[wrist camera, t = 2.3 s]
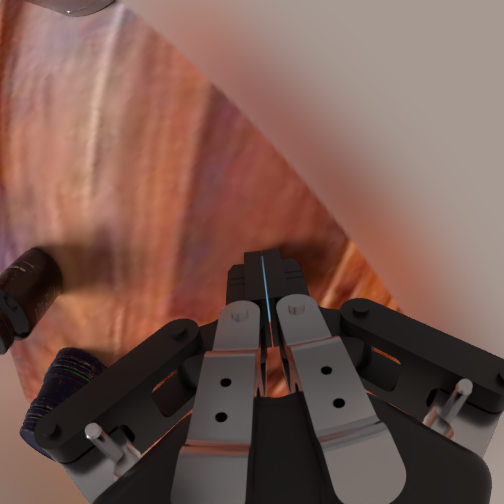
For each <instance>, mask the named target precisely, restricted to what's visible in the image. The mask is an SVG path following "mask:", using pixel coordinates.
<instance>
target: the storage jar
mask: <svg viewBox="0 0 504 504" xmlns="http://www.w3.org/2000/svg"><path fill="white" fill-rule="evenodd" d="M106 369H108V368H107V367H106V366H105V365H104V364H103V363H102V362H101V361H100V360H99V359H97V358H96V357H94V356H93V355H91V354H89V353H87V352H85V351H83V350H80V349H76V348H63V349H61V350H60V351H59V352H58V354H57V356H56V358H55V359H54V361H53V362H52V363H51V365H50V367H49V369H48V372H47V373H46V374H45V377H44V384H43V386H42V388H41V390H40V392H39V394H38V396H37V398H35V399H34V400H33V402H32V403H31V406H30V409H28V412H27V414H26V416H25V420H24V422H23V426H22V427H21V429H20V436H21V437H22V438H23V439H24V441H25V442H27V443H28V444H29V445H30V446H31V447H32V448H34V449H35V450H37V451H38V452H39V453H41V454H42V455H44V456H46V457H48V458H50V459H52V460H53V461H55V460H54V459H53V458H52V457H51V456H50V455H49V454H48V453H47V452H45V451H44V450H43V449H42V448H41V447H40V446H39V445H38V444H37V443H36V441H35V438H34V430H35V427H36V425H37V423H38V421H39V420H40V419H41V418H42V417H43V416H45V415H46V414H47V413H49V412H50V411H51V410H53V409H54V408H56V407H57V406H58V405H60V404H61V403H62V402H64V401H65V400H66V399H68V398H69V397H70V396H72V395H73V394H74V393H76V392H77V391H78V390H80V389H81V388H82V387H84V386H85V385H86V384H88V383H89V382H90V381H92V380H93V379H94V378H96V377H97V376H98V375H100V374H101V373H102V372H104V371H105V370H106ZM55 462H56V461H55Z"/></svg>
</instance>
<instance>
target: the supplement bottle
mask: <svg viewBox="0 0 504 504" xmlns="http://www.w3.org/2000/svg"><path fill="white" fill-rule="evenodd" d="M62 285H63V282H62V276H61V273H60V270H59V268H58V266H57V265H56V263H55V262H54V261H53V259H52V258H51V257H50V256H48V255H47V254H46V253H44V252H42V251H40V250H35V249H32V250H28V251H26V252H25V253H23V254H22V255H21V256H20V257H19V258H18V259H16V260H15V261H14V262H13V263H12V264H11V265H10V266H9V267H8V268H7V269H6V270H5V271H4V272H3V273H1V274H0V355H2V354H5V353H6V352H7V350H8V349H9V347H11V346H12V345H13V343H14V341H21V340H24V339H26V338H27V337H28V336H29V335H30V334H31V332H32V331H33V330H34V328H35V327H36V325H37V324H38V323H39V321H40V320H41V318H42V317H43V316H44V314H45V313H46V312H47V310H48V309H49V308H50V306H51V305H52V304H53V302H54V301H55V300H56V298H57V297H58V296H59V294H60V292H61V290H62Z"/></svg>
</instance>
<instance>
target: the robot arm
mask: <svg viewBox="0 0 504 504" xmlns="http://www.w3.org/2000/svg"><path fill="white" fill-rule="evenodd" d="M22 1H26V2H29V3H32V4H35V5H38V6H41V7H44V8H47V9H50V10H53V11H56V12H59V13H62V14H64V15H67V16H72V17H79V16H85V15H88V14H92V13H94V12H96V11H98V10H100V9H102V8H104V7H106V6H107V5H109V4H110V3H112V2H113V1H114V0H22ZM262 253H263V262H264V271H265V280H266V288H267V296H268V304H269V312H270V320H271V328H272V336H273V344H274V347H276V346H279V348H280V356H281V364H282V368H283V372H284V376H285V380H286V384H287V389H288V393H289V395H286V396H283V397H280V398H272V397H267V361H266V359H267V348H269V347H272V342H271V333H270V324H269V315H268V306H267V298H266V290H265V281H264V273H263V265H262V257H261V251H253V252H245V253H244V264H239V265H233V266H232V267H231V269H230V270H229V271H228V281H227V294H226V306H225V307H224V308H223V309H222V310H221V312H220V315H219V319H217V320H216V321H214V322H212V323H209V324H206V325H203V326H200V327H198V324H197V323H196V322H195V321H193V320H190V319H177V320H174V321H171V322H169V323H167V324H166V325H165V326H163V327H162V328H161V329H159V330H158V331H157V332H155V333H154V334H153V335H151V336H150V337H149V338H147V339H146V340H145V341H143V342H142V343H141V344H139V345H138V346H137V347H135V348H134V349H133V350H131V351H130V352H129V353H128V354H126V355H125V356H124V357H122V358H121V359H120V360H118V361H117V362H116V363H114V364H113V365H112V366H110V367H109V368H108V369H106V370H105V371H104V372H102V373H101V374H100V375H98V376H97V377H96V378H94V379H93V380H92V381H90V382H89V383H88V384H86V385H85V386H84V387H82V388H81V389H80V390H78V391H77V392H76V393H74V394H73V395H72V396H70V397H69V398H68V399H66V400H65V401H64V402H62V403H61V404H60V405H58V406H57V407H56V408H54V409H53V410H51V411H50V412H49V413H47V414H46V415H45V416H43V417H42V418H41V419H40V420H39V421H38V423H37V425H36V427H35V430H34V438H35V441H36V443H37V444H38V445H39V446H40V447H41V448H42V449H43V450H44V451H45V452H47V453H48V454H49V455H50V456H51V457H52V458H53V459H54V460H55V461H56V462H57V463H58V464H60V465H61V466H62V467H64V469H65V470H66V472H67V473H68V475H69V476H70V477H71V479H72V480H73V482H74V483H75V485H76V486H77V487H78V489H79V490H80V491H81V493H82V494H83V495H84V497H85V498H86V499H87V500H88V502H89V503H90V504H489V502H490V496H491V489H492V480H491V474H490V471H489V468H488V466H487V465H486V463H485V462H484V460H483V459H482V458H483V456H484V454H485V452H486V449H487V447H488V445H489V443H490V440H491V438H492V436H493V433H494V431H495V428H496V426H497V423H498V421H499V418H500V416H501V415H502V413H503V412H504V359H502V358H500V357H498V356H496V355H493V354H491V353H489V352H487V351H484V350H482V349H480V348H478V347H475V346H473V345H471V344H469V343H466V342H464V341H462V340H460V339H457V338H455V337H453V336H451V335H448V334H446V333H444V332H441V331H439V330H437V329H435V328H432V327H430V326H428V325H426V324H423V323H421V322H419V321H417V320H415V319H412V318H410V317H408V316H405V315H403V314H401V313H399V312H396V311H394V310H392V309H390V308H387V307H385V306H383V305H381V304H378V303H376V302H374V301H371V300H369V299H364V298H355V299H351V300H348V301H346V302H345V303H344V304H343V305H342V306H341V309H340V310H337V309H327V308H323V307H320V306H318V305H317V303H316V302H315V300H314V299H313V298H311V297H310V295H309V292H308V289H307V286H306V283H305V280H304V277H303V274H302V272H301V268H300V265H299V263H298V262H297V261H295V260H294V259H293V258H288V259H281V255H280V251H279V248H278V249H269V250H262ZM374 347H375V348H377V349H379V350H381V351H383V352H385V353H387V354H389V355H391V356H393V357H395V358H396V359H397V360H398V361H399V362H400V363H401V365H400V364H398V363H396V362H395V361H393V360H391V359H389V358H387V357H385V356H383V355H381V354H379V353H377V352H375V351H374ZM173 371H174V372H175V374H174V375H173V376H172V377H170V378H169V379H168V380H167V381H166V382H165V383H163V384H162V385H161V386H160V387H159V388H157V389H156V390H155V391H154V392H153V393H152V391H153V389H154V387H155V386H156V385H157V384H158V383H160V382H161V381H162V380H163V379H164V378H166V377H167V376H168V375H169V374H170V373H171V372H173ZM365 389H366V390H367V391H369V392H371V393H373V394H374V395H373V394H370V393H366V391H365ZM375 395H376V396H375ZM377 396H378V397H377ZM379 397H380V398H379ZM384 400H385V401H384ZM386 401H387V402H386ZM389 403H390V404H389ZM391 404H392V405H394V406H395V407H394V406H392V405H391ZM396 407H397V408H399V409H401V410H403V411H404V412H406V413H408V414H410V415H412V416H414V417H415V418H417V419H419V420H421V421H423V422H424V424H423V423H421V422H419V421H418V420H416V419H414V418H412V417H411V416H409V415H407V414H406V413H404V412H402V411H401V410H399V409H397V408H396ZM192 408H193V411H192V413H191V414H189V415H188V416H186V417H185V418H183V417H184V416H185V415H186V414H187V413H188V412H189V411H190V410H191V409H192ZM182 418H183V419H182ZM181 419H182V420H181ZM179 420H181V421H180V422H178V421H179ZM177 422H178V423H177ZM176 423H177V424H176ZM175 424H176V425H175ZM174 425H175V426H174ZM173 426H174V427H173ZM172 427H173V428H172ZM171 428H172V429H171ZM170 429H171V430H170ZM169 430H170V431H169ZM167 431H169V432H168V433H167V434H166V435H165V436H164V437H163V438H162V439H161V440H160V441H159V442H158V443H157V444H156V445H155V446H154V447H152V448H151V449H150V450H149V451H148V452H147V453H146V454H145V455H144V456H143V457H142V458H141V454H142V453H144V452H145V451H146V450H147V449H148V448H149V447H151V446H152V445H153V444H154V443H155V442H156V441H157V440H159V439H160V438H161V437H162V436H163V435H164V434H165V433H166V432H167Z"/></svg>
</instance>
